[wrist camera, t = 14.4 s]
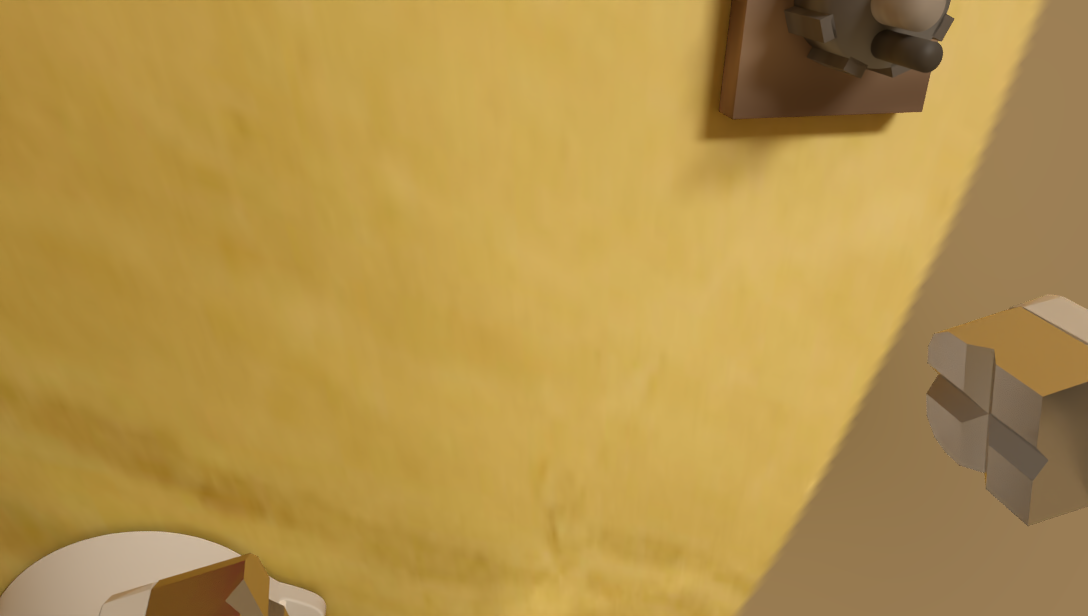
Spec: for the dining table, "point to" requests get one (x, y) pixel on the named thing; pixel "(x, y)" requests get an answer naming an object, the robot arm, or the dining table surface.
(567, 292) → the dining table surface
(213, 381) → the dining table surface
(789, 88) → the gear board
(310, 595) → the robot arm
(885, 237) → the dining table surface
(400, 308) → the dining table surface
